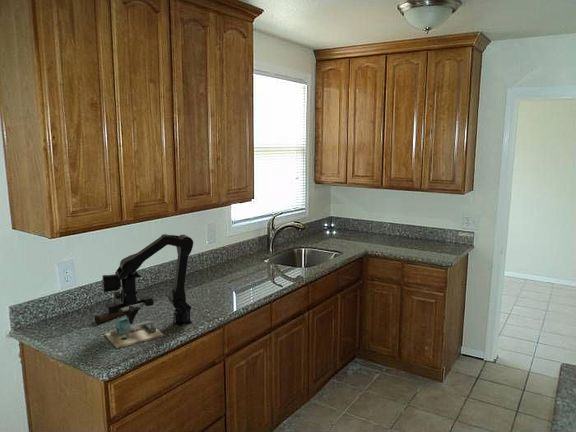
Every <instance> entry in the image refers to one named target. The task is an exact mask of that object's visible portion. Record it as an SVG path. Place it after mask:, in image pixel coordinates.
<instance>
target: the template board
mask: <svg viewBox="0 0 576 432" xmlns="http://www.w3.org/2000/svg"><path fill="white" fill-rule="evenodd" d="M104 335H105V337H106V338H107V339H108V341H110V342H111V344H112V345H113V346H114V347H115V348H116V349H117V348H118V349H120V348H124V346H125V347H128V345H129V346H132V345H135V344H139V343H143V341H144V342H147V341H151V340H154V339H158V338H161V337H164V333H162V332H161V331H160V330H159V329H157V327H156V332H152V333H150V332H149V331H148V330H147V329H146V328H144V329H140V330H136V331H132V332H129V337H126V333H125V334H121V335H116V336H112V337H111V336H110V333H109V332H106V333H105V334H104Z"/></svg>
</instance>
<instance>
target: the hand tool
mask: <svg viewBox="0 0 576 432" xmlns="http://www.w3.org/2000/svg"><path fill="white" fill-rule="evenodd" d="M129 310H130V307H129ZM119 316H126V314H125V313H123V312H122V311H121V310H120V309H119V311H118V313H114V314H108V313H107V312H105V313H102V314H99V315H95V316H94V323H95V324H96V325H101V324H103V323H104V322H106V321H109V320H112V319H115V318H118V317H119Z"/></svg>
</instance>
